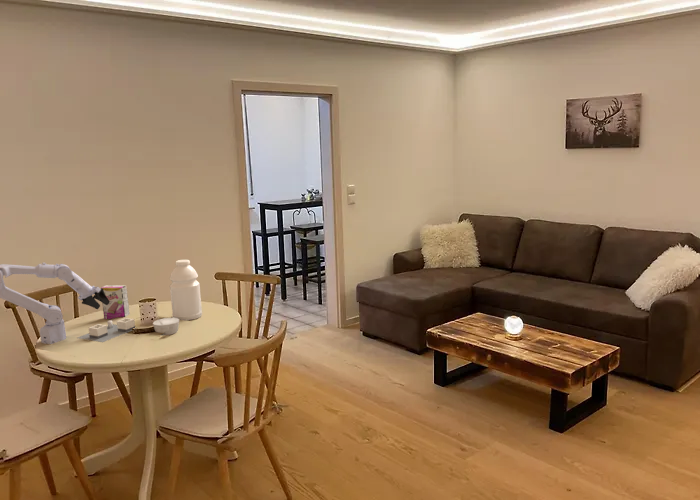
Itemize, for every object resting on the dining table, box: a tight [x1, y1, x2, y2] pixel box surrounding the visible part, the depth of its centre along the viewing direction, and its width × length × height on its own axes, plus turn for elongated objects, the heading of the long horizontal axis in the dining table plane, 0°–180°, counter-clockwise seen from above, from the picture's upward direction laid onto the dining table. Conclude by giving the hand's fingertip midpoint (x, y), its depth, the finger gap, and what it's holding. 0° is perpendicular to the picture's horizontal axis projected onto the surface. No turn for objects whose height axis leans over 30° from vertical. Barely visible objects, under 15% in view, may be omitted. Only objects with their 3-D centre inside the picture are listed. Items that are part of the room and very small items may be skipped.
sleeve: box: [88, 323, 108, 339], centre depth 249 cm, size 5×5×4 cm
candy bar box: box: [100, 284, 131, 321], centre depth 278 cm, size 11×5×16 cm, turn 84°
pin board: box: [76, 320, 133, 343], centre depth 253 cm, size 20×16×4 cm
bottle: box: [169, 259, 203, 321], centre depth 276 cm, size 14×14×28 cm
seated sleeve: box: [116, 317, 136, 333], centre depth 256 cm, size 5×5×4 cm
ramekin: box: [152, 317, 180, 337], centre depth 256 cm, size 11×11×5 cm
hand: (103, 305), depth 255 cm, fingers open, 7 cm apart
